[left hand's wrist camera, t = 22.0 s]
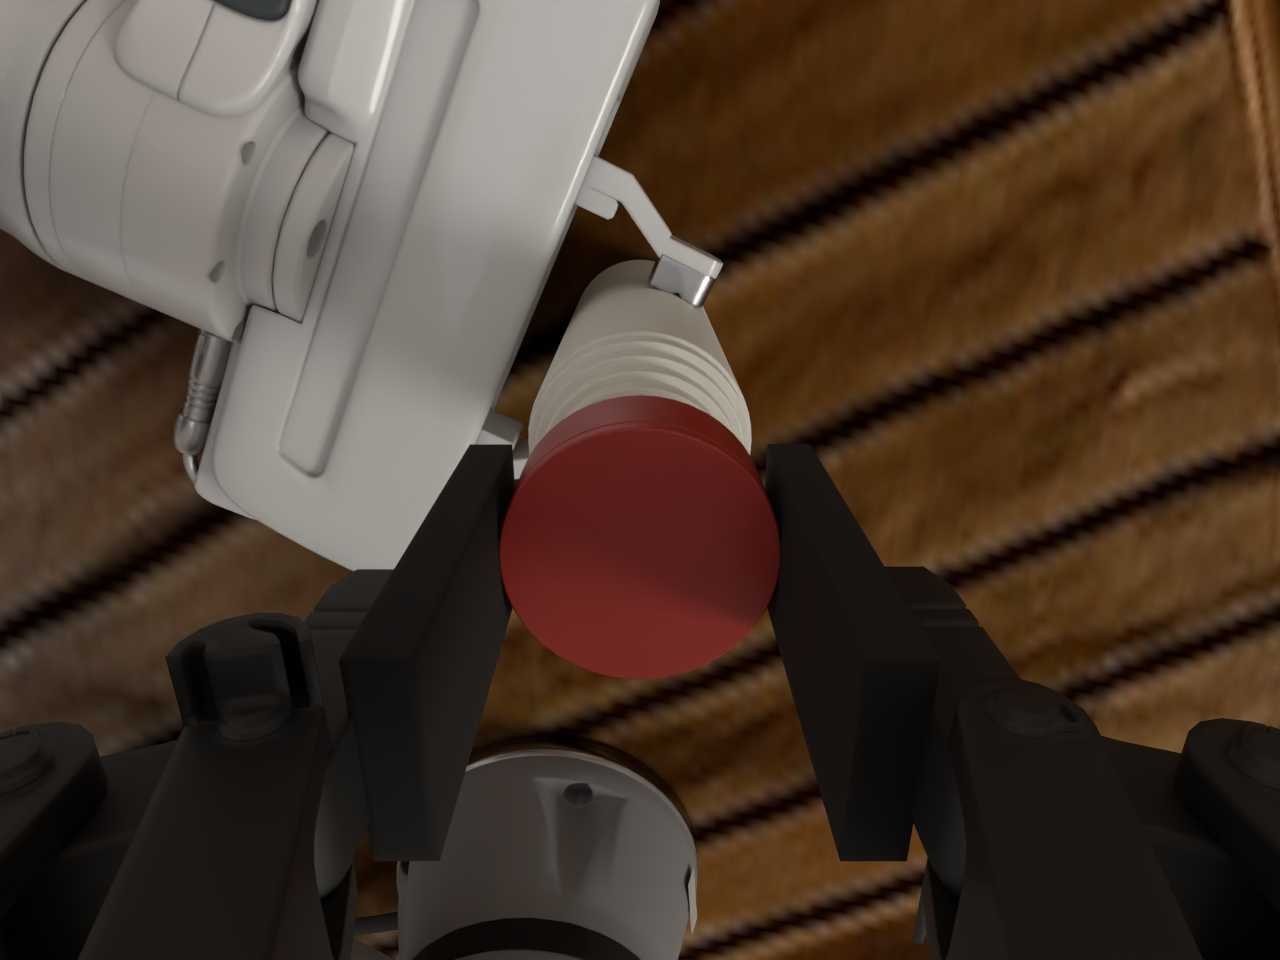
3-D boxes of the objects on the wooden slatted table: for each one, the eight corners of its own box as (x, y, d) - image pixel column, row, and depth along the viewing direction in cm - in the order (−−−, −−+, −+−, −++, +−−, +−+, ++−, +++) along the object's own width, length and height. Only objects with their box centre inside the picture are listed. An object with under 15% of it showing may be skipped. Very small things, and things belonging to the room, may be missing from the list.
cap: (666, 341, 13) (670, 368, 11) (812, 536, 14) (835, 585, 13) (463, 493, 14) (438, 537, 12) (618, 661, 16) (615, 722, 14)
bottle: (626, 231, 30) (606, 328, 12) (731, 313, 31) (854, 512, 13) (549, 339, 31) (431, 567, 14) (652, 413, 32) (667, 712, 15)
